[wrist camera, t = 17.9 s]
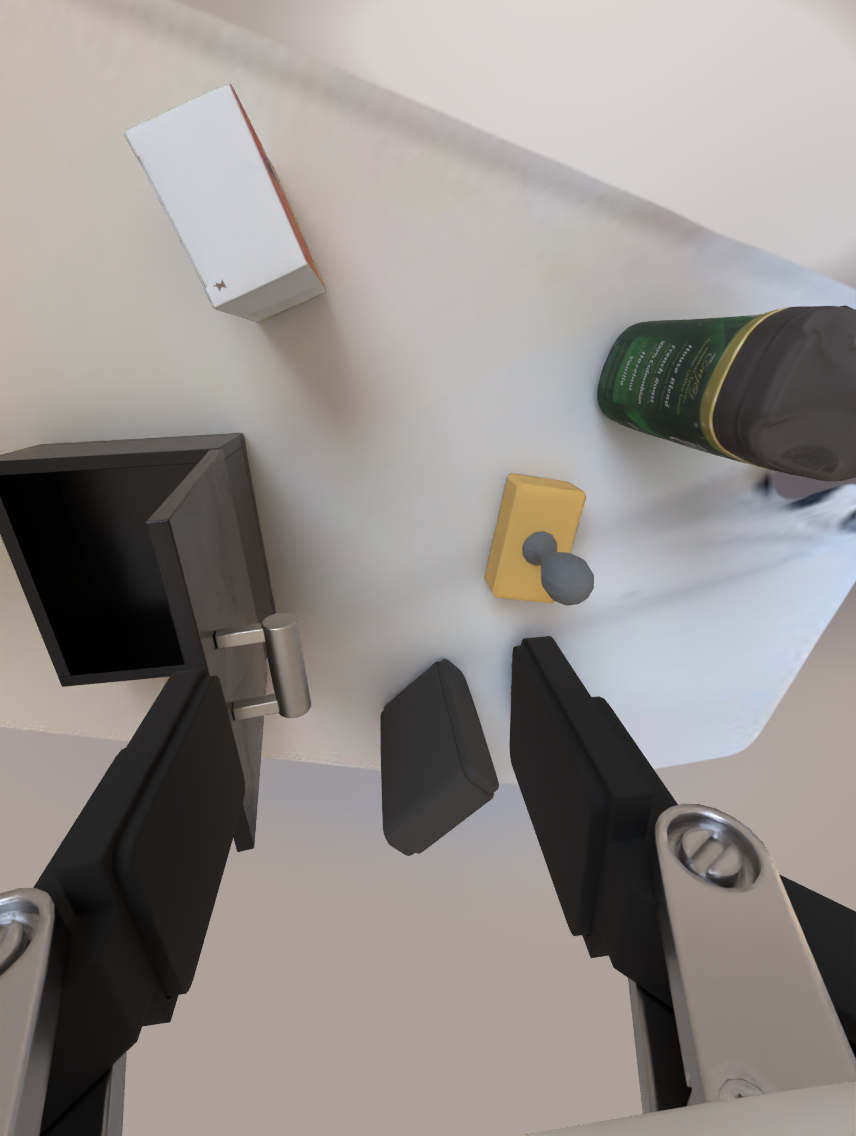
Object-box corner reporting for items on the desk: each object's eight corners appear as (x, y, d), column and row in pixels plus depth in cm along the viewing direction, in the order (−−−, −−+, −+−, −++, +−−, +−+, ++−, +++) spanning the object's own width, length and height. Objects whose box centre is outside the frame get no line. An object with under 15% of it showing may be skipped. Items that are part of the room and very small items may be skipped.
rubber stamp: (542, 586, 46) (596, 658, 35) (482, 580, 45) (519, 651, 34) (571, 482, 43) (642, 526, 32) (507, 472, 42) (556, 514, 31)
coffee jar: (580, 415, 40) (733, 459, 24) (619, 311, 38) (825, 273, 21) (681, 446, 42) (890, 506, 25) (725, 348, 40) (994, 342, 23)
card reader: (403, 730, 51) (415, 867, 37) (374, 709, 50) (377, 844, 36) (469, 674, 49) (507, 798, 36) (441, 651, 48) (471, 770, 34)
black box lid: (237, 852, 24) (329, 830, 25) (144, 522, 17) (274, 508, 18) (256, 672, 38) (315, 661, 39) (209, 449, 31) (281, 444, 32)
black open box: (106, 639, 44) (61, 686, 37) (38, 444, 37) (-29, 462, 31) (278, 623, 45) (263, 667, 39) (242, 432, 38) (218, 448, 32)
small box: (327, 292, 35) (312, 268, 26) (256, 324, 35) (214, 313, 26) (272, 159, 32) (230, 75, 22) (193, 196, 32) (118, 128, 23)
